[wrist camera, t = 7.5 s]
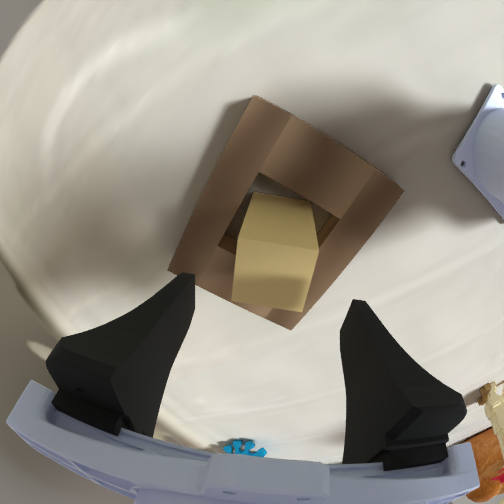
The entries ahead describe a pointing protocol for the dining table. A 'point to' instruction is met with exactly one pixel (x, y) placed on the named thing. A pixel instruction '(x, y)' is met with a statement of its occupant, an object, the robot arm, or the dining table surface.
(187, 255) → the brown square frame
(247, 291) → the sand colored cuboid
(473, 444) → the bread
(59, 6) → the dining table surface
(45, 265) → the dining table surface
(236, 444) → the blue flower
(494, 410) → the cat figure
